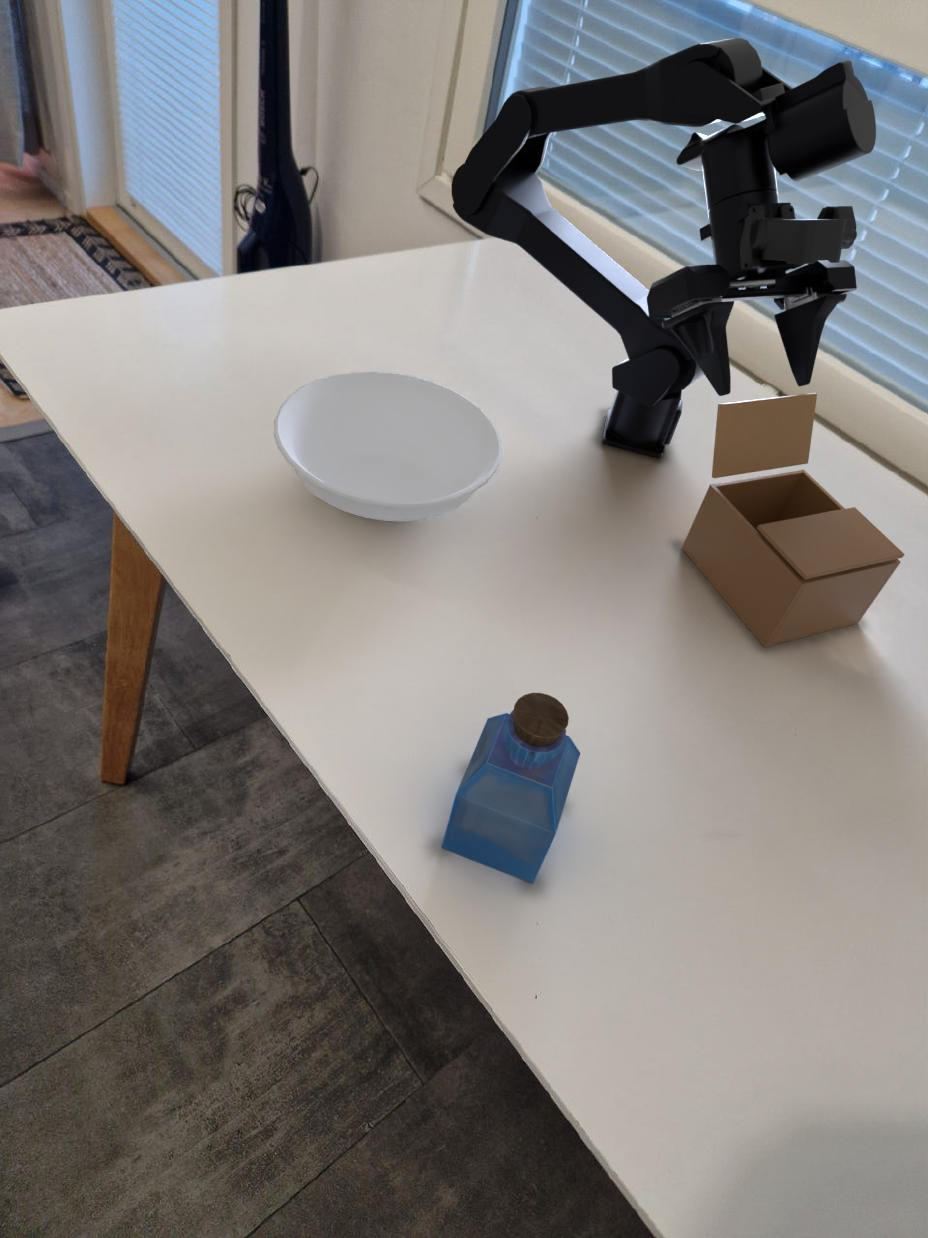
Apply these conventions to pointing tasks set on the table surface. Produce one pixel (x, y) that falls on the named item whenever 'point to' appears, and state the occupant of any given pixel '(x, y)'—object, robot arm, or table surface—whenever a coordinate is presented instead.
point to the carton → (789, 555)
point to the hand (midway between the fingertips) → (765, 390)
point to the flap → (763, 434)
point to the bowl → (387, 444)
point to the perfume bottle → (515, 788)
